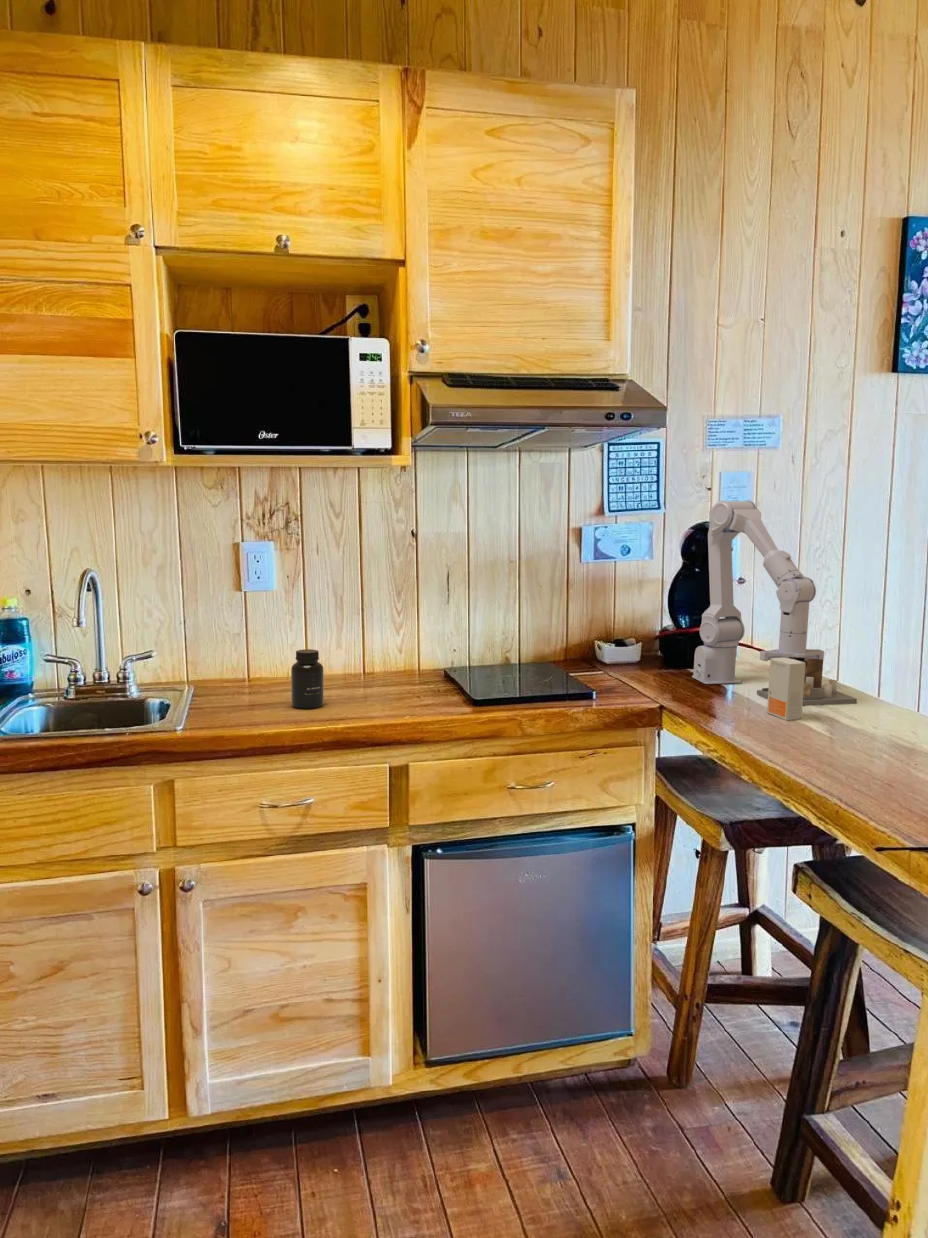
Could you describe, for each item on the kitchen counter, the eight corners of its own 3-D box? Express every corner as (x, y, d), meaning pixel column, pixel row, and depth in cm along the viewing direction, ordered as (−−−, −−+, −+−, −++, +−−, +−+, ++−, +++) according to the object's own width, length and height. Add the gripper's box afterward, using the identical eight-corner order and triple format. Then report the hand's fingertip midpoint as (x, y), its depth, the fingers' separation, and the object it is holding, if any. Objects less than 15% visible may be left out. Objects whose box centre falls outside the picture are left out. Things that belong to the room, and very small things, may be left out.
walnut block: (805, 689, 205) (808, 656, 203) (796, 685, 208) (798, 653, 207) (821, 689, 205) (823, 656, 204) (811, 685, 209) (813, 652, 208)
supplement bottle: (313, 711, 182) (312, 655, 180) (285, 707, 185) (284, 652, 183) (329, 703, 189) (328, 649, 187) (302, 700, 191) (301, 647, 189)
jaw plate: (804, 697, 191) (805, 684, 191) (785, 689, 199) (785, 676, 199) (809, 697, 192) (810, 684, 191) (789, 689, 199) (790, 676, 199)
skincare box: (765, 713, 183) (769, 658, 181) (781, 711, 185) (785, 656, 183) (786, 721, 177) (790, 663, 176) (802, 719, 179) (806, 662, 177)
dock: (782, 706, 189) (783, 688, 188) (756, 694, 200) (757, 677, 199) (856, 703, 192) (857, 685, 192) (827, 691, 203) (828, 674, 202)
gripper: (773, 635, 188) (769, 696, 190) (833, 634, 190) (829, 694, 192) (756, 630, 194) (752, 689, 197) (815, 628, 197) (811, 686, 199)
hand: (789, 691), depth 195 cm, fingers closed
